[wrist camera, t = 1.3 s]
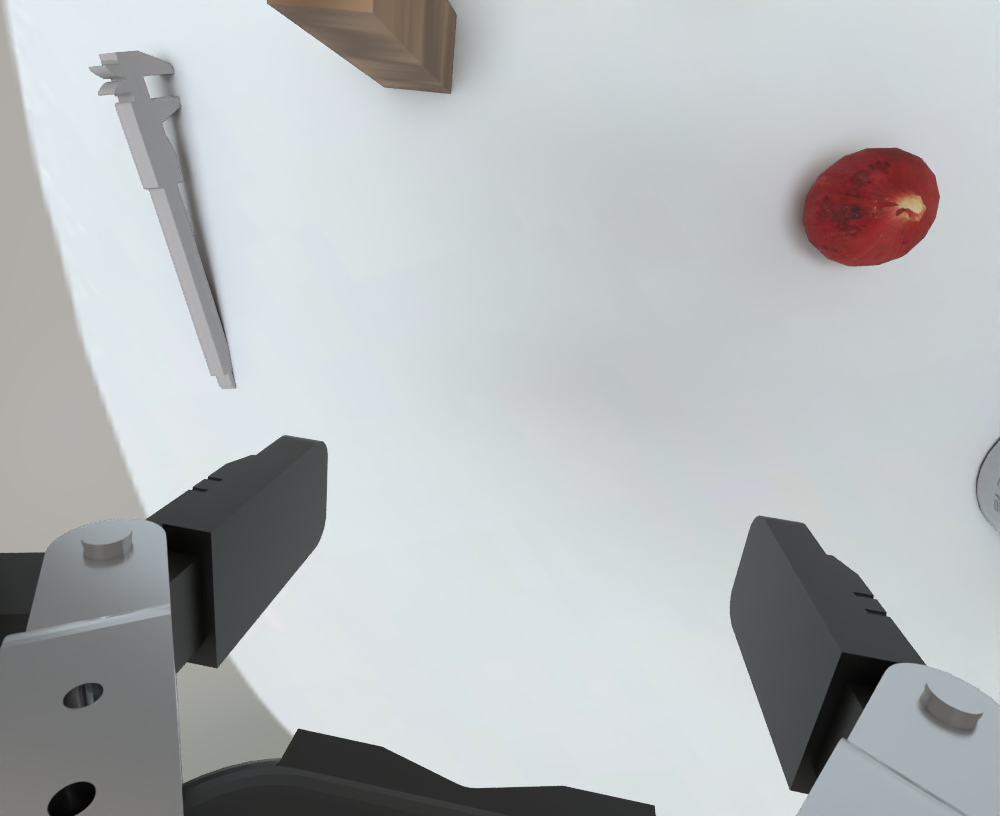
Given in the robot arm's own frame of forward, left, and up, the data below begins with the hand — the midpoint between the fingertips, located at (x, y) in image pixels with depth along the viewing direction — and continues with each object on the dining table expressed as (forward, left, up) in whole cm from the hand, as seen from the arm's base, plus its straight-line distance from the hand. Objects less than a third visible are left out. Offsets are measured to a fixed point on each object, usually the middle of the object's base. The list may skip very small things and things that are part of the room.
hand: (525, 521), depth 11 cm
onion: (-15, -8, -28) cm, 33 cm away
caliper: (+24, -2, -29) cm, 37 cm away
